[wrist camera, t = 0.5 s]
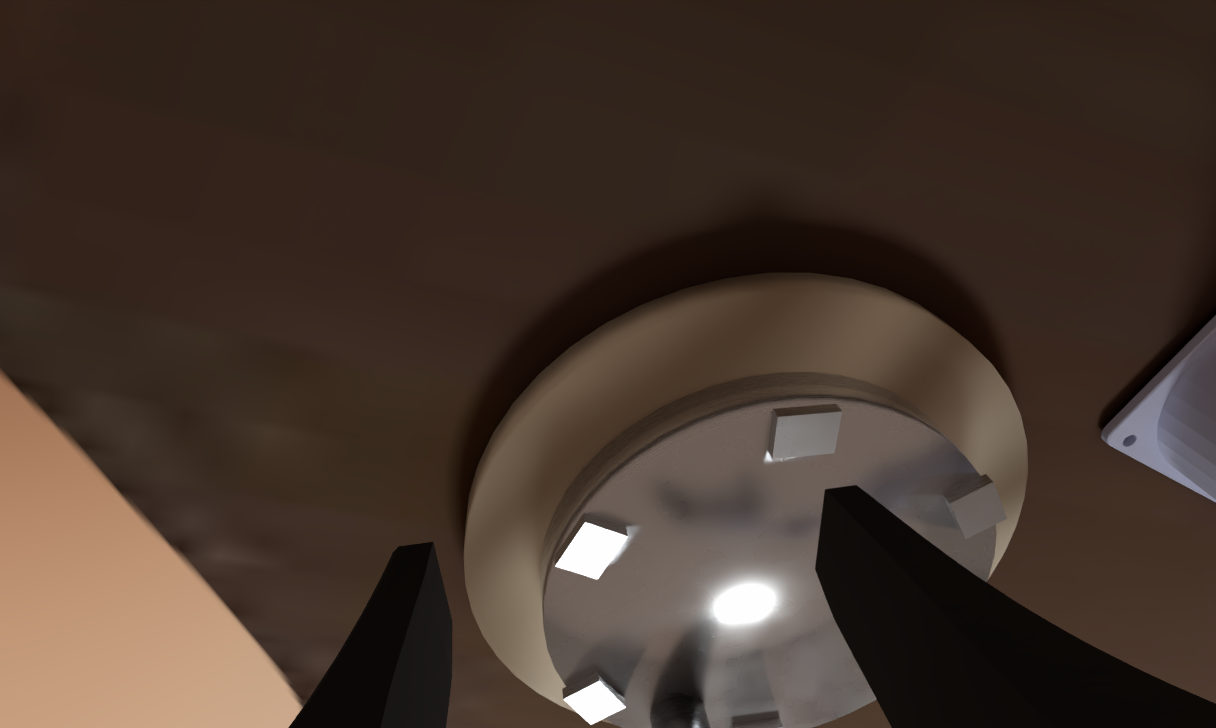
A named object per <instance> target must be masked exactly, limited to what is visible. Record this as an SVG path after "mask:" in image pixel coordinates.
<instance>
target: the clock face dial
mask: <svg viewBox="0 0 1216 728" xmlns="http://www.w3.org/2000/svg"><path fill="white" fill-rule="evenodd" d="M853 485H857V486H858V487H860V488H861V489H862V490H864V491H865V492H866V493H868V494H869V495H870V496H871V497H873V498H874V499H875V500H877V501H878V502H879V503H880V504H882V505H883V506H884V507H885V508H887V509H888V510H889V511H891V512H892V513H893V514H894V515H896V516H897V517H898V518H899V519H901V520H902V521H903V522H905V523H906V524H907V525H908V526H910V527H911V528H912V529H914V530H915V531H916V532H917V533H919V534H920V535H921V536H923V537H924V538H925V539H927V540H928V541H929V542H931V543H932V544H933V545H935V546H936V547H937V548H939V549H940V550H941V551H943V552H944V553H945V554H947V555H948V556H949V557H951V558H952V559H954V560H955V561H956V562H958V563H959V564H960V565H962V566H963V567H965V568H966V569H968V570H969V571H970V572H972V573H973V574H975V575H976V576H978V577H979V578H981V579H982V580H984V581H985V582H987V580H988V578H989V574H990V571H991V567H992V563H993V560H994V556H995V546H996V537H997V532H996V524H997V523H999V522H1001V521H1003V520H1006V519H1007V516H1006V514H1005V511H1004V509H1003V506H1002V503H1001V501H1000V498H999V495H998V493H997V490H996V487H995V485H994V482H993V481H992V480H991V479H990V478H989V477H988V476H987V474H984V475H982V476H980V474H979V473H978V472H977V470H976V469H975V468H974V467H973V465H972V464H971V463H970V462H969V460H968V459H967V458H966V457H965V456H964V454H963V453H962V452H961V451H960V450H959V449H958V448H957V447H956V446H955V445H954V444H953V443H952V442H951V441H950V439H949V438H948V437H947V436H946V435H945V434H944V433H943V432H942V431H941V430H940V429H939V428H938V427H937V426H936V424H935V423H934V422H933V421H932V420H931V419H930V418H929V417H927V416H926V415H925V414H924V413H923V412H922V411H920V410H919V409H918V408H917V407H916V406H915V405H913V404H912V403H910V402H909V401H907V400H905V399H904V398H902V397H900V396H899V395H897V394H895V393H894V392H892V391H889V390H887V389H884V388H882V387H879V386H877V385H874V384H872V383H869V382H867V381H862V380H858V379H854V378H850V377H846V376H842V375H834V374H824V373H815V372H786V373H773V374H765V375H758V376H750V377H745V378H741V379H737V380H733V381H729V382H725V383H721V384H717V385H714V386H711V387H708V388H705V389H703V390H700V391H697V392H694V393H692V394H689V395H686V396H684V397H682V398H680V399H678V400H676V401H674V402H672V403H669V404H667V405H665V406H663V407H661V408H659V409H657V410H655V411H654V412H652V413H650V414H649V415H647V416H646V417H644V418H643V419H641V420H639V421H638V422H636V423H635V424H633V425H632V426H630V427H628V428H627V429H626V430H625V431H623V432H622V433H621V434H620V435H618V436H617V437H616V438H615V439H613V440H612V441H611V442H610V443H608V444H607V445H606V446H605V447H604V448H602V450H601V451H600V452H599V453H598V454H597V455H596V456H595V457H594V458H593V459H592V460H591V461H590V462H589V463H588V464H587V465H586V466H585V467H584V468H583V469H582V470H581V472H580V473H579V474H578V476H577V477H576V478H575V480H574V481H573V482H572V484H571V485H570V486H569V488H568V489H567V490H566V492H565V494H564V496H563V497H562V499H561V501H560V503H559V505H558V506H557V508H556V510H555V512H554V514H553V516H552V519H551V522H550V524H549V527H548V530H547V532H546V535H545V539H544V544H543V549H542V554H541V563H540V585H541V599H542V612H543V626H544V633H545V639H546V645H547V650H548V653H549V655H550V658H551V660H552V663H553V666H554V668H555V670H556V671H557V673H558V675H559V676H560V678H561V679H562V681H563V683H564V684H565V686H566V687H564V688H562V692H563V700H564V701H566V702H567V703H568V704H569V705H570V706H571V707H572V708H573V709H574V710H575V711H576V712H578V713H579V714H580V715H581V716H582V717H583V718H584V719H585V720H586V721H587V722H588V723H590V724H591V725H592V724H594V723H596V722H598V721H600V720H602V719H606V720H607V721H609V722H611V723H613V724H615V725H617V726H620V727H622V728H813V727H816V726H818V725H821V724H824V723H827V722H830V721H832V720H834V719H837V718H839V717H842V716H844V715H846V714H849V713H851V712H853V711H855V710H857V709H859V708H861V707H863V706H865V705H867V704H869V703H870V702H872V701H874V700H876V697H875V695H874V693H873V691H872V690H871V688H870V686H869V684H868V682H867V680H866V678H865V677H864V675H863V673H862V671H861V669H860V667H859V665H858V664H857V662H856V660H855V658H854V656H853V654H852V652H851V650H850V649H849V647H848V645H847V643H846V641H845V639H844V637H843V635H842V633H841V632H840V630H839V628H838V626H837V624H836V622H835V620H834V617H833V615H832V612H831V610H830V607H829V605H828V602H827V600H826V597H825V595H824V592H823V589H822V587H821V584H820V581H819V579H818V576H817V573H816V570H815V564H816V556H817V548H818V540H819V532H820V524H821V516H822V508H823V500H824V492H825V489H830V488H838V487H845V486H853Z"/></svg>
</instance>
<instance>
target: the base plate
mask: <svg viewBox="0 0 1216 728" xmlns="http://www.w3.org/2000/svg"><path fill="white" fill-rule="evenodd" d="M786 372H815V373H824V374H834V375H842V376H846V377H850V378H854V379H858V380H862V381H867V382H869V383H872V384H874V385H877V386H879V387H882V388H884V389H887V390H889V391H892V392H894V393H895V394H897V395H899V396H900V397H902V398H904V399H905V400H907V401H909V402H910V403H912V404H913V405H915V406H916V407H917V408H918V409H919V410H920V411H922V412H923V413H924V414H925V415H926V416H927V417H929V418H930V419H931V420H932V421H933V422H934V423H935V424H936V426H937V427H938V428H939V429H940V430H941V431H942V432H943V433H944V434H945V435H946V436H947V437H948V438H949V439H950V441H951V442H952V443H953V444H954V445H955V446H956V447H957V448H958V449H959V450H960V451H961V452H962V453H963V454H964V456H965V457H966V458H967V459H968V460H969V462H970V463H971V464H972V465H973V467H974V468H975V469H976V470H977V472H978V473H979V474H980V476H982V475H984V474H987V476H988V477H989V478H990V479H991V480H992V481H993V482H994V485H995V487H996V490H997V493H998V495H999V498H1000V501H1001V503H1002V506H1003V509H1004V511H1005V514H1006V516H1007V519H1006V520H1003V521H1001V522H999V523H997V524H996V532H997V537H996V546H995V556H994V560H993V563H992V567H991V571H990V574H989V577H990V576H991V574H992V572H993V571H994V569H995V567H996V566H997V564H998V562H999V561H1000V559H1001V557H1002V556H1003V554H1004V552H1005V550H1006V548H1007V546H1008V543H1009V541H1010V539H1011V537H1012V534H1013V532H1014V530H1015V528H1016V525H1017V522H1018V518H1019V515H1020V511H1021V508H1022V505H1023V501H1024V497H1025V489H1026V481H1027V474H1028V459H1027V441H1026V436H1025V432H1024V427H1023V423H1022V418H1021V415H1020V412H1019V410H1018V408H1017V405H1016V403H1015V401H1014V399H1013V396H1012V394H1011V392H1010V389H1009V388H1008V386H1007V385H1006V383H1005V382H1004V381H1003V379H1002V378H1001V376H1000V375H999V373H998V372H997V370H996V369H995V368H994V366H993V365H992V364H991V363H990V362H989V361H988V360H987V359H986V358H985V357H984V356H983V355H982V354H981V353H980V352H979V351H978V350H977V349H976V348H975V347H974V346H973V345H972V344H971V343H970V342H969V341H968V340H966V339H965V338H964V337H963V336H961V335H960V334H959V333H958V332H957V331H955V330H954V329H953V328H952V327H950V326H949V325H948V324H947V323H946V322H944V321H943V320H942V319H940V318H939V317H937V316H936V315H934V314H933V313H931V312H930V311H928V310H927V309H925V308H924V307H922V306H921V305H919V304H918V303H916V302H914V301H912V300H910V299H908V298H906V297H903V296H901V295H899V294H897V293H895V292H892V291H890V290H888V289H886V288H883V287H879V286H876V285H872V284H869V283H865V282H862V281H858V280H855V279H851V278H846V277H839V276H831V275H824V274H817V273H762V274H753V275H745V276H737V277H729V278H724V279H720V280H716V281H712V282H708V283H704V284H700V285H696V286H691V287H687V288H684V289H681V290H678V291H676V292H673V293H670V294H668V295H665V296H662V297H660V298H657V299H654V300H652V301H649V302H646V303H644V304H642V305H640V306H638V307H636V308H634V309H632V310H630V311H628V312H626V313H624V314H622V315H620V316H618V317H616V318H615V319H613V320H611V321H609V322H607V323H605V324H603V325H602V326H600V327H599V328H597V329H596V330H594V331H593V332H591V333H590V334H589V335H587V336H586V337H584V338H583V339H581V340H580V341H578V342H577V343H575V344H574V345H572V346H571V347H569V348H568V349H567V350H566V351H565V352H564V353H562V354H561V355H560V356H559V357H558V358H557V359H556V360H554V361H553V362H552V363H551V364H550V365H549V366H547V367H546V368H545V369H544V370H543V371H542V372H541V373H539V374H538V376H537V377H536V378H535V379H534V380H533V381H532V382H531V383H530V385H529V386H528V387H527V388H526V389H525V390H524V391H523V392H522V393H521V395H520V396H519V397H518V398H517V399H516V400H515V401H514V402H513V404H512V405H511V407H510V408H509V410H508V411H507V413H506V414H505V416H504V417H503V419H502V420H501V422H500V423H499V425H498V426H497V428H496V429H495V431H494V432H493V434H492V436H491V438H490V440H489V442H488V444H487V446H486V449H485V451H484V453H483V455H482V457H481V459H480V461H479V463H478V466H477V469H476V473H475V476H474V480H473V483H472V486H471V490H470V493H469V499H468V507H467V515H466V523H465V542H464V568H465V585H466V589H467V593H468V597H469V601H470V605H471V609H472V612H473V615H474V617H475V619H476V621H477V624H478V626H479V628H480V630H481V632H482V635H483V636H484V638H485V639H486V641H487V642H488V644H489V645H490V647H491V648H492V650H493V651H494V652H495V654H496V655H497V657H498V658H499V659H500V660H501V661H502V662H503V663H504V664H505V665H506V666H507V667H508V668H509V669H510V671H511V672H512V673H513V674H514V675H515V676H516V677H518V678H519V679H520V680H522V681H523V682H524V683H525V684H527V685H528V686H529V687H531V688H532V689H533V690H535V691H536V692H537V693H539V694H541V695H543V696H544V697H546V698H548V699H550V700H551V701H553V702H555V703H557V704H558V705H560V706H562V707H565V708H567V709H570V710H572V711H574V712H576V711H575V710H574V709H573V708H572V707H571V706H570V705H569V704H568V703H567V702H566V701H564V700H563V692H562V688H564V687H566V686H565V684H564V683H563V681H562V679H561V678H560V676H559V675H558V673H557V671H556V670H555V668H554V666H553V663H552V660H551V658H550V655H549V653H548V650H547V645H546V639H545V633H544V626H543V612H542V599H541V585H540V563H541V554H542V549H543V544H544V539H545V535H546V532H547V530H548V527H549V524H550V522H551V519H552V516H553V514H554V512H555V510H556V508H557V506H558V505H559V503H560V501H561V499H562V497H563V496H564V494H565V492H566V490H567V489H568V488H569V486H570V485H571V484H572V482H573V481H574V480H575V478H576V477H577V476H578V474H579V473H580V472H581V470H582V469H583V468H584V467H585V466H586V465H587V464H588V463H589V462H590V461H591V460H592V459H593V458H594V457H595V456H596V455H597V454H598V453H599V452H600V451H601V450H602V448H604V447H605V446H606V445H607V444H608V443H610V442H611V441H612V440H613V439H615V438H616V437H617V436H618V435H620V434H621V433H622V432H623V431H625V430H626V429H627V428H628V427H630V426H632V425H633V424H635V423H636V422H638V421H639V420H641V419H643V418H644V417H646V416H647V415H649V414H650V413H652V412H654V411H655V410H657V409H659V408H661V407H663V406H665V405H667V404H669V403H672V402H674V401H676V400H678V399H680V398H682V397H684V396H686V395H689V394H692V393H694V392H697V391H700V390H703V389H705V388H708V387H711V386H714V385H717V384H721V383H725V382H729V381H733V380H737V379H741V378H745V377H750V376H758V375H765V374H773V373H786ZM988 579H989V578H988ZM577 713H578V712H577ZM601 721H604V722H608V723H611V722H609V721H607V720H606V719H602V720H601ZM611 724H613V723H611Z"/></svg>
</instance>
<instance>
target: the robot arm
mask: <svg viewBox="0 0 1216 728" xmlns="http://www.w3.org/2000/svg"><path fill="white" fill-rule="evenodd" d="M1101 437H1102V439H1103V440H1104V441H1105V442H1106V443H1107V444H1109V445H1110V446H1112V447H1113V448H1115V449H1117V450H1119V451H1121V452H1123V453H1125V454H1126V455H1128V456H1130V457H1132V458H1134V459H1136V460H1138V461H1140V462H1141V463H1143V464H1145V465H1147V466H1149V467H1151V468H1153V469H1154V470H1156V471H1158V472H1160V473H1162V474H1164V475H1166V476H1168V477H1169V478H1171V479H1173V480H1175V481H1177V482H1179V483H1181V484H1182V485H1184V486H1186V487H1188V488H1190V489H1192V490H1194V491H1196V492H1197V493H1199V494H1201V495H1203V496H1205V497H1207V498H1209V499H1210V500H1212V501H1214V502H1216V315H1215V316H1214V317H1213V318H1212V319H1211V320H1210V321H1209V322H1208V323H1207V324H1206V325H1205V326H1204V327H1203V328H1202V329H1201V330H1200V331H1199V332H1198V333H1197V334H1196V335H1195V336H1194V337H1193V338H1192V339H1191V340H1190V341H1189V342H1188V343H1187V344H1186V345H1185V346H1184V347H1183V348H1182V349H1181V350H1180V351H1179V352H1178V353H1177V354H1176V355H1175V356H1174V357H1173V358H1172V359H1171V360H1170V361H1169V362H1168V363H1167V364H1166V365H1165V366H1164V367H1163V368H1162V370H1161V371H1160V372H1159V373H1158V374H1157V375H1156V376H1155V377H1154V378H1153V379H1152V380H1151V381H1150V382H1149V383H1148V384H1147V385H1146V386H1145V387H1144V388H1143V389H1142V390H1141V391H1140V392H1139V393H1138V394H1137V395H1136V396H1135V397H1134V398H1133V399H1132V400H1131V401H1130V402H1129V403H1128V404H1127V405H1126V406H1125V407H1124V408H1123V409H1122V410H1121V411H1120V412H1119V413H1118V414H1117V415H1116V416H1115V417H1114V418H1113V419H1112V420H1111V421H1110V422H1109V423H1108V424H1107V425H1106V426H1105V427H1104V429H1103V430H1102V433H1101ZM815 570H816V573H817V576H818V579H819V581H820V584H821V587H822V589H823V592H824V595H825V597H826V600H827V602H828V605H829V607H830V610H831V612H832V615H833V617H834V620H835V622H836V624H837V626H838V628H839V630H840V632H841V633H842V635H843V637H844V639H845V641H846V643H847V645H848V647H849V649H850V650H851V652H852V654H853V656H854V658H855V660H856V662H857V664H858V665H859V667H860V669H861V671H862V673H863V675H864V677H865V678H866V680H867V682H868V684H869V686H870V688H871V690H872V691H873V693H874V695H875V697H876V699H877V701H878V703H879V704H880V706H881V708H882V710H883V712H884V714H885V716H886V717H887V719H888V721H889V723H890V725H891V727H892V728H1216V704H1215V703H1213V702H1210V701H1208V700H1206V699H1203V698H1201V697H1199V696H1197V695H1194V694H1192V693H1190V692H1187V691H1185V690H1183V689H1180V688H1178V687H1176V686H1173V685H1171V684H1169V683H1167V682H1165V681H1163V680H1160V679H1158V678H1156V677H1154V676H1152V675H1150V674H1148V673H1145V672H1143V671H1141V670H1139V669H1137V668H1135V667H1133V666H1131V665H1129V664H1127V663H1125V662H1123V661H1121V660H1119V659H1117V658H1115V657H1113V656H1111V655H1109V654H1107V653H1105V652H1103V651H1101V650H1099V649H1097V648H1095V647H1093V646H1092V645H1090V644H1088V643H1086V642H1084V641H1082V640H1080V639H1079V638H1077V637H1075V636H1073V635H1071V634H1069V633H1068V632H1066V631H1064V630H1062V629H1061V628H1059V627H1057V626H1056V625H1054V624H1052V623H1050V622H1049V621H1047V620H1045V619H1044V618H1042V617H1040V616H1038V615H1037V614H1035V613H1033V612H1032V611H1030V610H1028V609H1027V608H1025V607H1023V606H1022V605H1020V604H1019V603H1017V602H1015V601H1014V600H1012V599H1011V598H1009V597H1008V596H1006V595H1005V594H1003V593H1002V592H1000V591H999V590H997V589H996V588H994V587H993V586H991V585H990V584H988V583H987V582H985V581H984V580H982V579H981V578H979V577H978V576H976V575H975V574H973V573H972V572H970V571H969V570H968V569H966V568H965V567H963V566H962V565H960V564H959V563H958V562H956V561H955V560H954V559H952V558H951V557H949V556H948V555H947V554H945V553H944V552H943V551H941V550H940V549H939V548H937V547H936V546H935V545H933V544H932V543H931V542H929V541H928V540H927V539H925V538H924V537H923V536H921V535H920V534H919V533H917V532H916V531H915V530H914V529H912V528H911V527H910V526H908V525H907V524H906V523H905V522H903V521H902V520H901V519H899V518H898V517H897V516H896V515H894V514H893V513H892V512H891V511H889V510H888V509H887V508H885V507H884V506H883V505H882V504H880V503H879V502H878V501H877V500H875V499H874V498H873V497H871V496H870V495H869V494H868V493H866V492H865V491H864V490H862V489H861V488H860V487H858V486H857V485H853V486H845V487H838V488H830V489H825V492H824V500H823V508H822V516H821V524H820V532H819V540H818V548H817V556H816V564H815ZM451 679H452V619H451V614H450V610H449V606H448V602H447V598H446V593H445V589H444V585H443V581H442V577H441V573H440V568H439V564H438V560H437V556H436V552H435V547H434V543H433V542H429V543H422V544H414V545H407V546H399V547H398V548H397V549H396V550H395V551H394V552H393V554H392V556H391V558H390V560H389V562H388V564H387V567H386V569H385V571H384V573H383V575H382V577H381V579H380V581H379V583H378V585H377V586H376V588H375V590H374V592H373V594H372V596H371V598H370V600H369V602H368V603H367V605H366V607H365V609H364V611H363V613H362V614H361V616H360V618H359V620H358V621H357V623H356V625H355V626H354V628H353V630H352V632H351V633H350V635H349V637H348V638H347V640H346V642H345V644H344V645H343V647H342V649H341V650H340V652H339V654H338V655H337V657H336V658H335V660H334V662H333V663H332V665H331V666H330V668H329V669H328V671H327V672H326V674H325V675H324V677H323V678H322V680H321V682H320V683H319V685H318V686H317V688H316V689H315V691H314V692H313V694H312V695H311V697H310V698H309V700H308V701H307V703H306V704H305V705H304V707H303V708H302V710H301V711H300V713H299V714H298V715H297V717H296V718H295V720H294V721H293V722H292V724H291V725H290V726H289V728H446V722H447V714H448V705H449V697H450V688H451Z"/></svg>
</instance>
